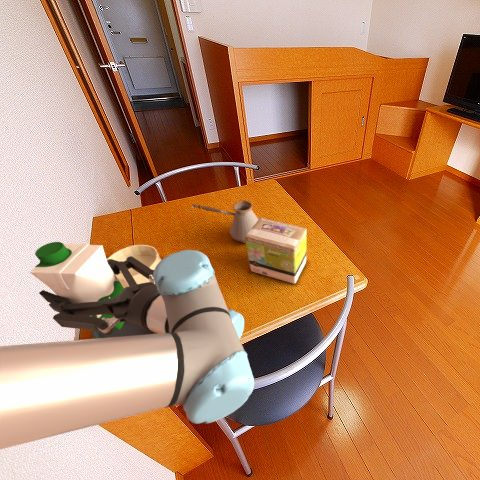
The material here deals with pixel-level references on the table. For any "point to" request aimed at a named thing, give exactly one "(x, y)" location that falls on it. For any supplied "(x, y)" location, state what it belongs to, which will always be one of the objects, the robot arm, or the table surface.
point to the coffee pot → (238, 218)
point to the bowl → (142, 254)
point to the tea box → (277, 249)
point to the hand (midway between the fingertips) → (70, 277)
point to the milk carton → (77, 273)
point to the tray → (124, 331)
